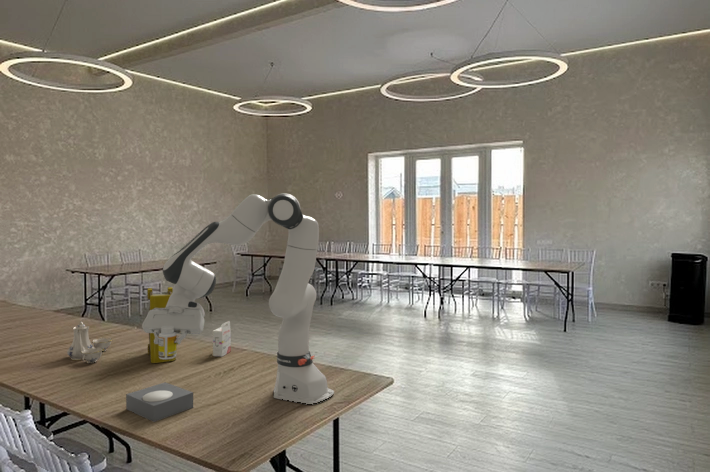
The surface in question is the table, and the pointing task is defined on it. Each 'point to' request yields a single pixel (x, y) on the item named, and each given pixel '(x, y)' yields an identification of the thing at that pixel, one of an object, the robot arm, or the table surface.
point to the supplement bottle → (167, 343)
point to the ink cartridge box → (222, 340)
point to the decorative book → (153, 348)
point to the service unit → (159, 401)
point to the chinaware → (86, 345)
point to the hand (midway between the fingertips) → (166, 343)
